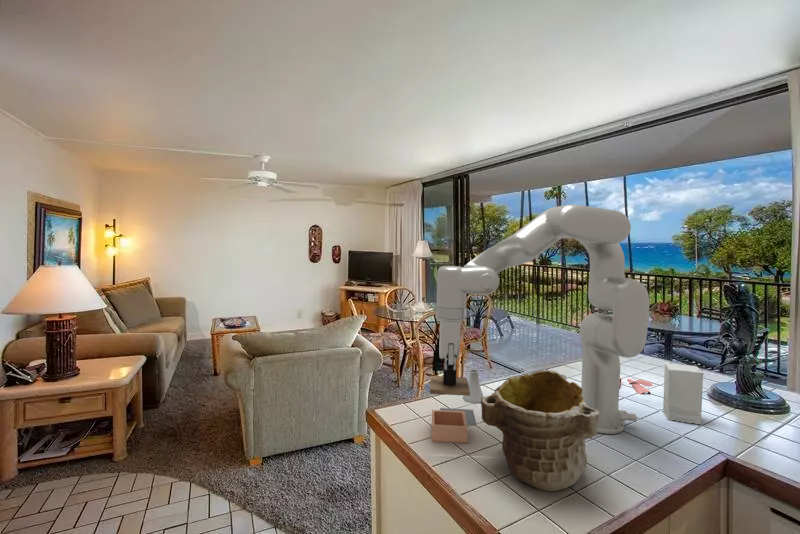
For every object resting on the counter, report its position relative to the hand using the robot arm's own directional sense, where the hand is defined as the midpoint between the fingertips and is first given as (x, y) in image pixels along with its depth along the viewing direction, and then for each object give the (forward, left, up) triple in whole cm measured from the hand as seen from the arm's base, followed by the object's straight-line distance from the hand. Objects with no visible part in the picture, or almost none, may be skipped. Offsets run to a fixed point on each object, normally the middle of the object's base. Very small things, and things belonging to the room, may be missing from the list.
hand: (449, 381), depth 98 cm
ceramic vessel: (-18, +14, -15) cm, 27 cm away
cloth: (-66, -42, -16) cm, 79 cm away
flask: (-9, -23, -15) cm, 29 cm away
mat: (-3, -10, -15) cm, 18 cm away
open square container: (0, 0, -15) cm, 15 cm away
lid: (0, 0, -2) cm, 2 cm away
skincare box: (-69, -17, -15) cm, 73 cm away
